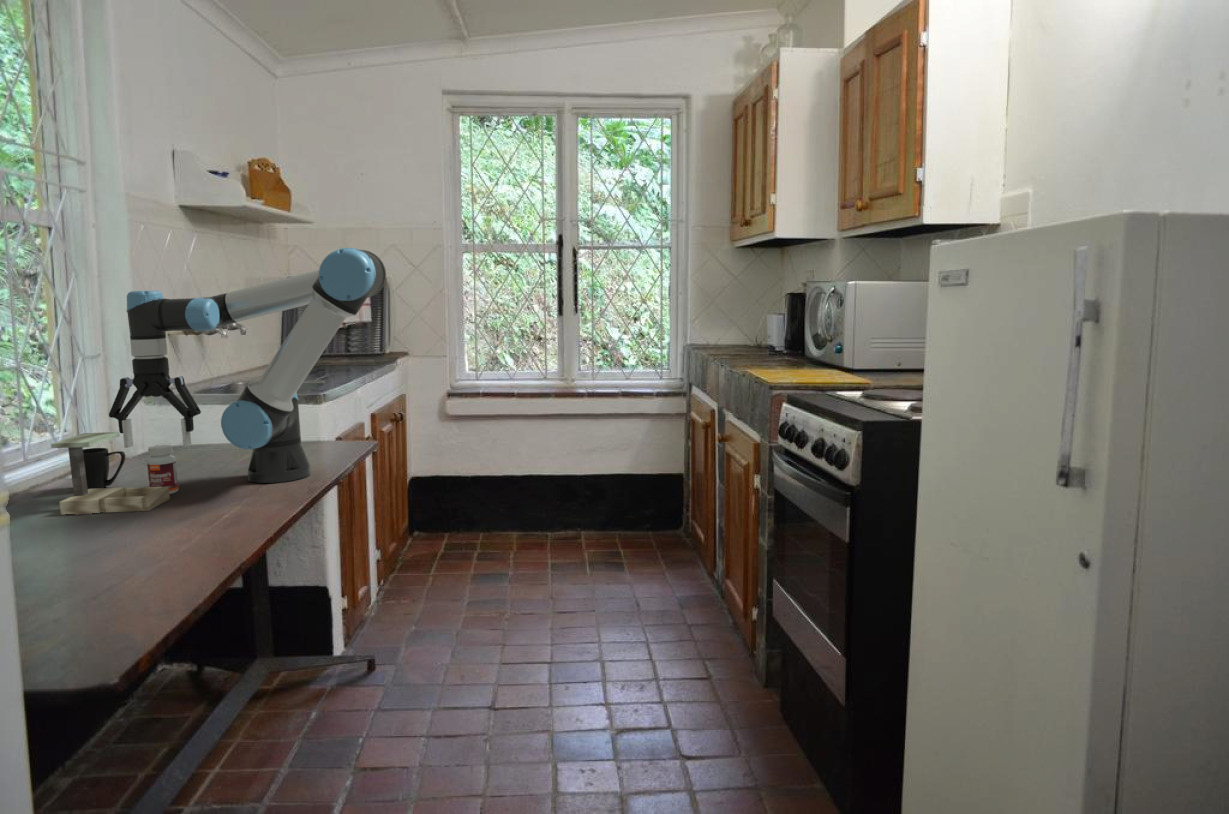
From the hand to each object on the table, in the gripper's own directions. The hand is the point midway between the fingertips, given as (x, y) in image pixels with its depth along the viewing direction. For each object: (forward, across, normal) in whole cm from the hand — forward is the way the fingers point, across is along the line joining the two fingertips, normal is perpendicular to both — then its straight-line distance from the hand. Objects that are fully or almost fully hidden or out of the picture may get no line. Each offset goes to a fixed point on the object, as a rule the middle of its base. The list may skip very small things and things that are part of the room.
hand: (158, 446), depth 210 cm
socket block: (+11, +5, +12) cm, 17 cm away
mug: (+12, +18, -8) cm, 23 cm away
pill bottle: (+12, 0, 0) cm, 12 cm away
